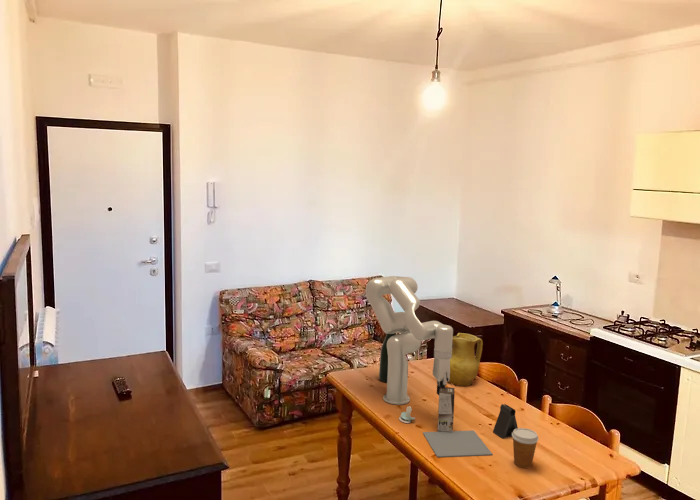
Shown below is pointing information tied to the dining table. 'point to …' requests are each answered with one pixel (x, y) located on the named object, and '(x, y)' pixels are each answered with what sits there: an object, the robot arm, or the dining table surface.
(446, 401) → the coffee box
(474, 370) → the pitcher
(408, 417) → the pacifier
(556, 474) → the dining table surface
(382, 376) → the dark green bottle
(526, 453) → the disposable coffee cup
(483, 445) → the mat
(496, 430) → the phone stand
